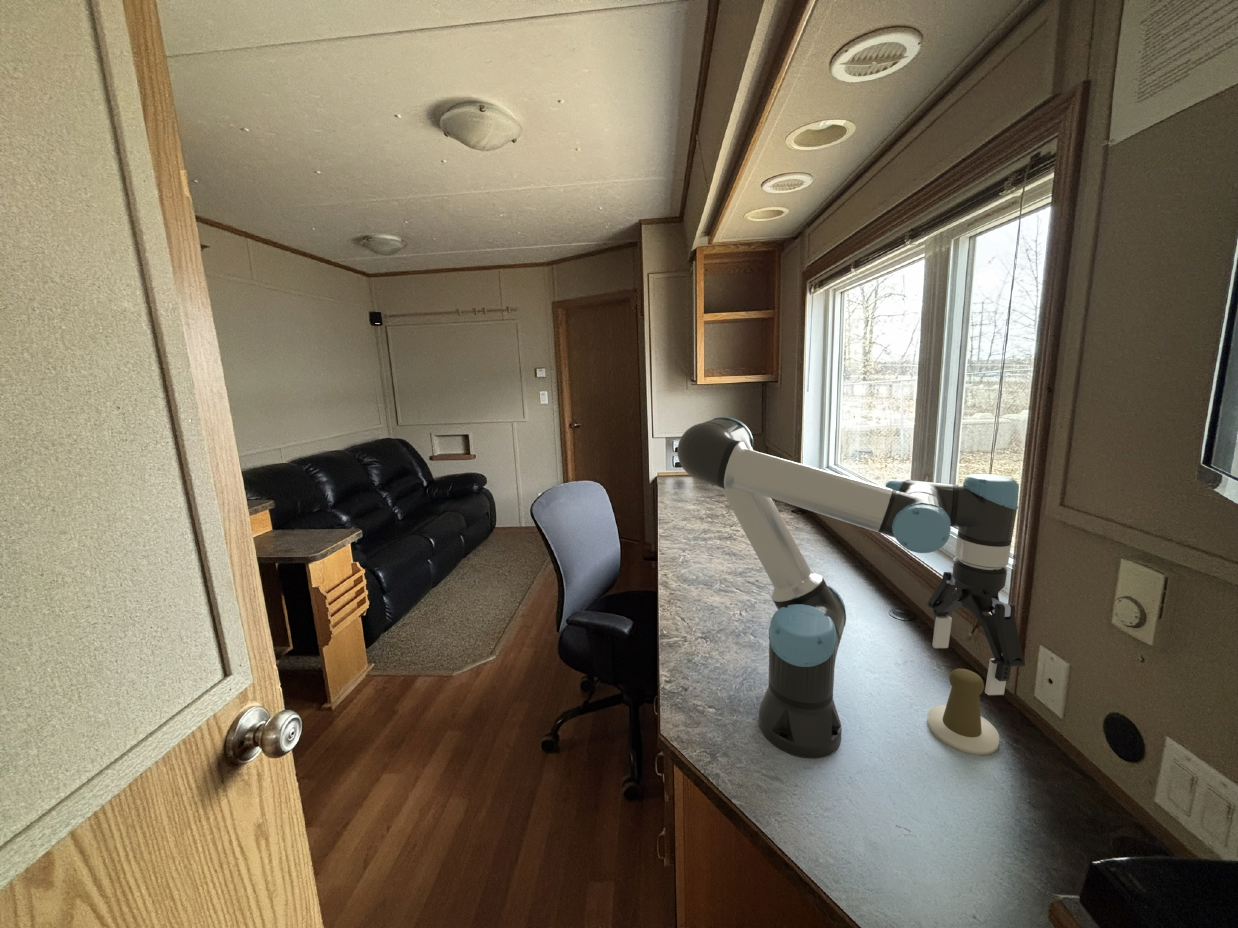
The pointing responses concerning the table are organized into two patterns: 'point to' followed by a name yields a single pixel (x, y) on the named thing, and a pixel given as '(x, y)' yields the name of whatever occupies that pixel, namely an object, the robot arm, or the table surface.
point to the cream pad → (975, 745)
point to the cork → (964, 703)
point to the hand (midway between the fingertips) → (965, 668)
